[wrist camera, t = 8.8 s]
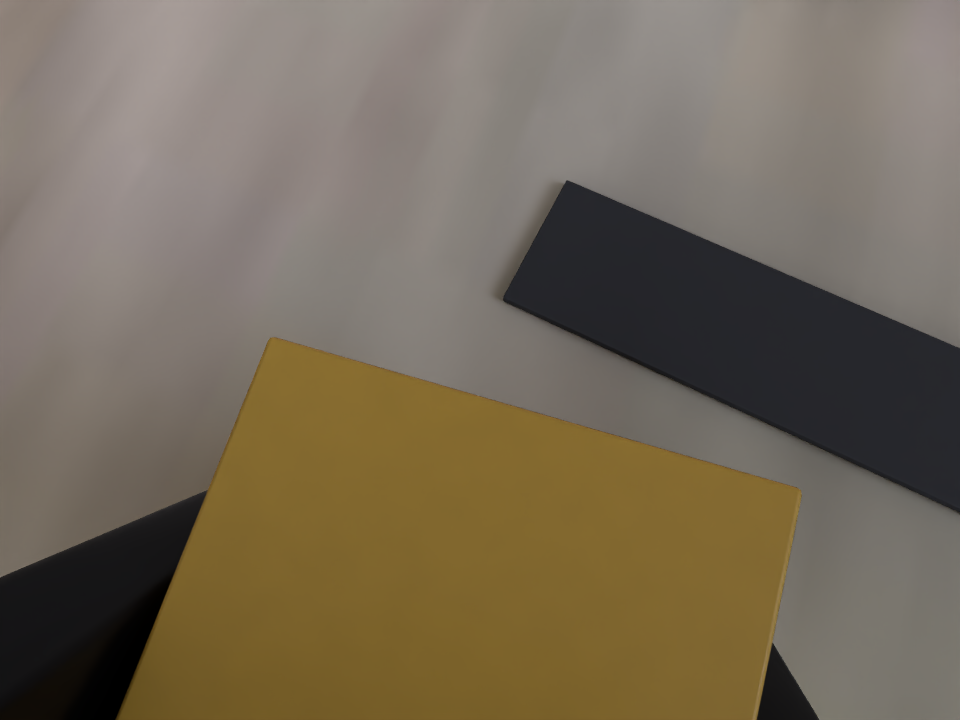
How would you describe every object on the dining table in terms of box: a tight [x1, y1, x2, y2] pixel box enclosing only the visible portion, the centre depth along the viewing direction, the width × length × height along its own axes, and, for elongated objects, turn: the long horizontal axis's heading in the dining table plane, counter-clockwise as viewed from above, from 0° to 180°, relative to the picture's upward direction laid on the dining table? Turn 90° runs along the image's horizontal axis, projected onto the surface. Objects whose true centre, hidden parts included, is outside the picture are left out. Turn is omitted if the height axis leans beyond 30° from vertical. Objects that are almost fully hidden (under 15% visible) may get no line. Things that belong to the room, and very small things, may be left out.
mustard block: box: [116, 337, 802, 720], centre depth 11 cm, size 5×5×10 cm
